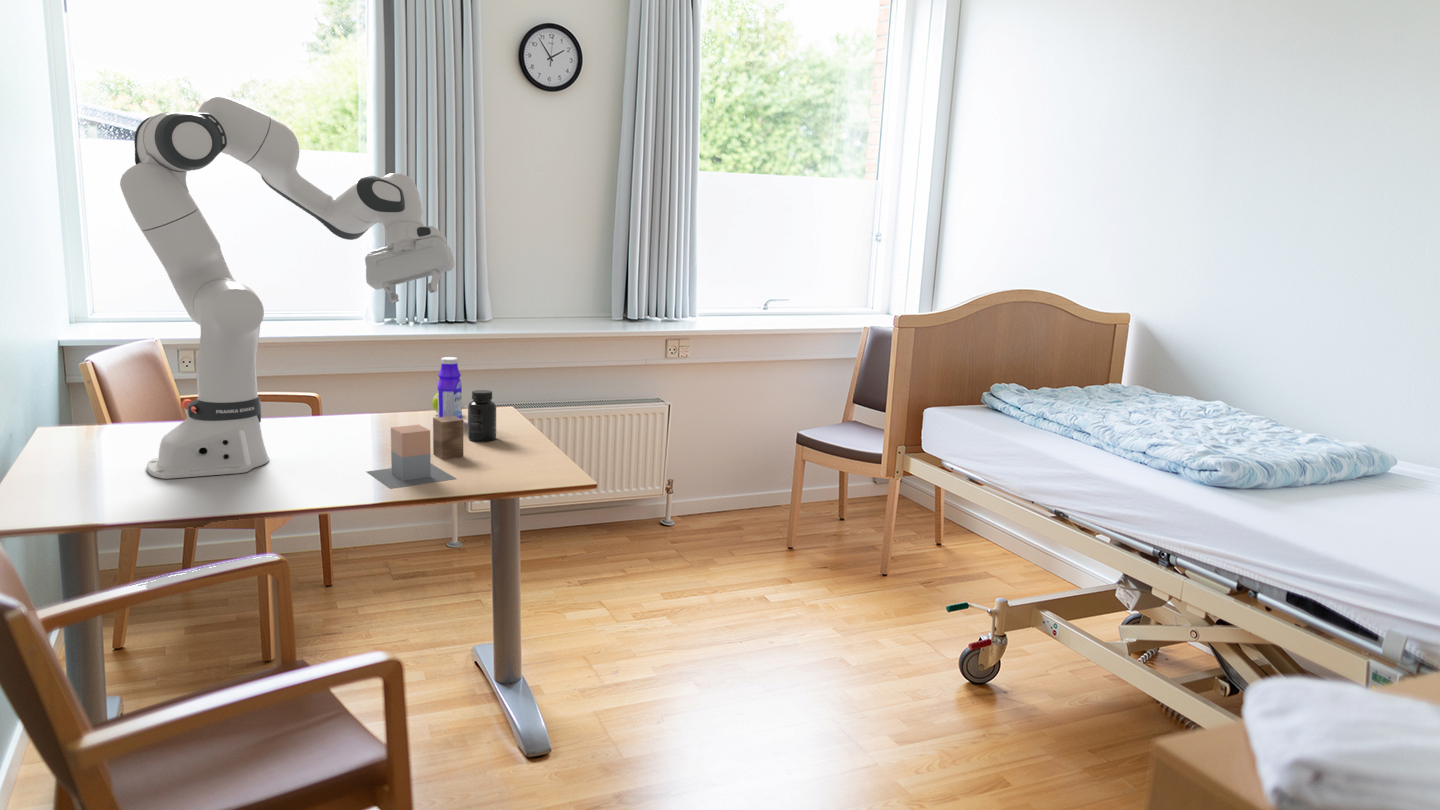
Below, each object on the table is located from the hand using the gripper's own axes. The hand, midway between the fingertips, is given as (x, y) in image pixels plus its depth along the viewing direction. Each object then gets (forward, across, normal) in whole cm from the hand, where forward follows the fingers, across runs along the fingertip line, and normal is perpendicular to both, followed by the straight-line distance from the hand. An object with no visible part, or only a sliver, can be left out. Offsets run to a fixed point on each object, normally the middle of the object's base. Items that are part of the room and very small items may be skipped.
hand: (413, 296), depth 208 cm
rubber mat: (+43, -3, -6) cm, 43 cm away
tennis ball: (+15, -16, +46) cm, 50 cm away
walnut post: (+36, -1, +10) cm, 38 cm away
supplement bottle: (+29, +1, +26) cm, 40 cm away
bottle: (+20, -11, +38) cm, 44 cm away
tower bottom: (+42, -3, -6) cm, 43 cm away
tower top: (+38, -1, -8) cm, 39 cm away
